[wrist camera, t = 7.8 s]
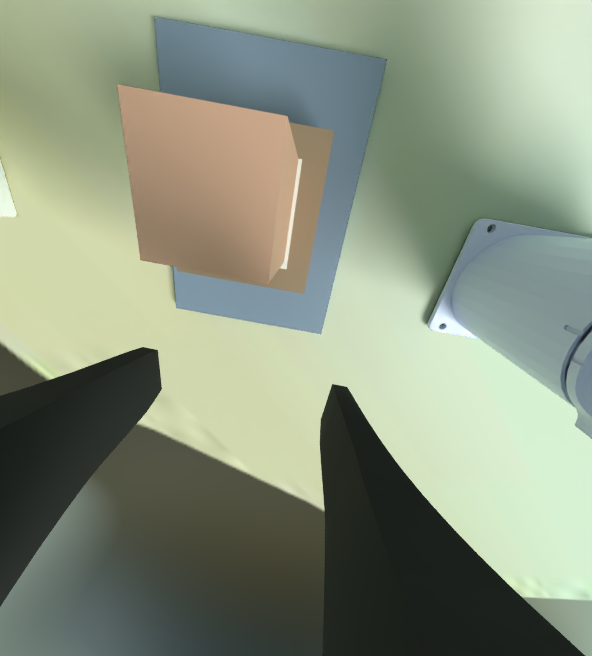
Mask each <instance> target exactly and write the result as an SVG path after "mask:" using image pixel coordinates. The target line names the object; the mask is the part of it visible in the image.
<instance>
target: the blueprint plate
mask: <svg viewBox="0 0 592 656" xmlns="http://www.w3.org/2000/svg"><path fill="white" fill-rule="evenodd" d="M155 30H156V43H157V56H158V70H159V83H160V92H162V93H167V94H172V95H178V96H183V97H188V98H194V99H199V100H204V101H210V102H215V103H220V104H226V105H231V106H236V107H242V108H247V109H252V110H258V111H263V112H268V113H274V114H279V115H284V116H288V120H289V124H290V127H291V131H292V135H293V139H294V143H295V147H296V151H297V154H298V158H299V159H298V166H297V174H296V181H295V188H294V195H293V202H292V209H291V217H290V224H289V231H288V238H287V245H286V252H285V260H284V263H283V264H282V266H281V267H280V268H279V270H278V271H277V273H276V274H275V275H274V277H273V278H272V279H271V281H270V282H269V283H262V282H257V281H251V280H246V279H240V278H235V277H230V276H224V275H219V274H213V273H208V272H202V271H197V270H191V269H186V268H181V267H175V266H173V270H174V283H175V296H176V308H179V309H185V310H190V311H196V312H201V313H207V314H212V315H218V316H223V317H229V318H234V319H240V320H246V321H251V322H257V323H262V324H268V325H273V326H279V327H284V328H290V329H295V330H301V331H307V332H312V333H318V334H321V332H322V328H323V324H324V320H325V316H326V312H327V307H328V303H329V299H330V295H331V291H332V287H333V282H334V278H335V274H336V270H337V266H338V262H339V257H340V253H341V249H342V245H343V241H344V237H345V232H346V228H347V224H348V220H349V216H350V212H351V207H352V203H353V199H354V195H355V191H356V187H357V182H358V178H359V174H360V170H361V166H362V161H363V157H364V153H365V149H366V145H367V141H368V136H369V132H370V128H371V124H372V120H373V116H374V111H375V107H376V103H377V99H378V95H379V91H380V86H381V82H382V78H383V74H384V70H385V66H386V61H387V59H382V58H377V57H371V56H366V55H360V54H355V53H349V52H344V51H339V50H333V49H328V48H322V47H317V46H312V45H306V44H301V43H295V42H290V41H285V40H279V39H274V38H268V37H263V36H257V35H252V34H247V33H241V32H236V31H230V30H225V29H220V28H214V27H209V26H203V25H198V24H192V23H187V22H182V21H176V20H171V19H165V18H160V17H155Z"/></svg>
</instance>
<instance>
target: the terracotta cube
mask: <svg viewBox="0 0 592 656" xmlns="http://www.w3.org/2000/svg"><path fill="white" fill-rule="evenodd" d="M117 87H118V94H119V102H120V109H121V117H122V124H123V132H124V139H125V147H126V154H127V162H128V169H129V177H130V184H131V192H132V199H133V207H134V214H135V222H136V229H137V237H138V245H139V252H140V260H143V261H148V262H153V263H159V264H164V265H170V266H175V267H181V268H186V269H191V270H197V271H202V272H208V273H213V274H219V275H224V276H230V277H235V278H240V279H246V280H251V281H257V282H262V283H269V282H270V281H271V279H272V278H273V277H274V275H275V274H276V273H277V271H278V270H279V268H280V267H281V266H282V264H283V263H284V260H285V252H286V245H287V238H288V231H289V224H290V217H291V209H292V202H293V195H294V188H295V181H296V174H297V166H298V159H299V158H298V154H297V151H296V147H295V143H294V139H293V135H292V131H291V127H290V124H289V120H288V116H284V115H279V114H274V113H268V112H263V111H258V110H252V109H247V108H242V107H236V106H231V105H226V104H220V103H215V102H210V101H204V100H199V99H194V98H188V97H183V96H178V95H172V94H167V93H162V92H156V91H151V90H146V89H140V88H135V87H130V86H125V85H119V84H117Z"/></svg>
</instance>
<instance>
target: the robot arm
mask: <svg viewBox="0 0 592 656" xmlns="http://www.w3.org/2000/svg"><path fill="white" fill-rule="evenodd" d="M490 225H492V229H491V230H490V231H489V232H487V228H488V227H489V226H490ZM442 323H444V325H443V326H442V327H439V326H440V324H442ZM427 325H428V327H429V328H430V329H431V330H433V331H437V332H443V333H448V334H454V335H459V336H465V337H471V338H476V339H480V340H482V341H483V342H484V343H486V344H487V345H489V346H490V347H491V348H493V349H494V350H496V351H497V352H498V353H500V354H501V355H502V356H504V357H505V358H507V359H508V360H509V361H511V362H512V363H514V364H515V365H516V366H518V367H519V368H521V369H522V370H523V371H525V372H526V373H528V374H529V375H530V376H532V377H533V378H534V379H536V380H537V381H539V382H540V383H541V384H543V385H544V386H546V387H547V388H548V389H550V390H551V391H553V392H554V393H555V394H557V395H558V396H560V397H561V398H562V399H564V400H565V401H567V402H568V403H569V404H571V405H572V406H573V407H575V408H576V409H577V412H578V418H577V420H576V423H575V426H576V427H577V428H579V429H580V430H581V431H582V432H584V433H585V434H586V435H588V436H589V437H590V438H591V439H592V238H591V237H586V236H580V235H575V234H569V233H564V232H558V231H553V230H547V229H542V228H536V227H531V226H525V225H520V224H514V223H509V222H503V221H498V220H492V219H479V220H477V221H476V222H475V223H474V225H473V226H472V228H471V231H470V233H469V235H468V237H467V239H466V241H465V244H464V246H463V248H462V250H461V252H460V254H459V257H458V259H457V261H456V263H455V265H454V267H453V269H452V272H451V274H450V276H449V278H448V280H447V282H446V285H445V287H444V289H443V291H442V293H441V295H440V297H439V300H438V302H437V304H436V306H435V308H434V310H433V313H432V315H431V317H430V319H429V321H428V324H427ZM161 389H162V387H161V377H160V368H159V358H158V350H154V349H149V348H144V347H142V348H139V349H135V350H132V351H129V352H126V353H124V354H121V355H118V356H115V357H113V358H110V359H107V360H105V361H102V362H99V363H96V364H94V365H91V366H88V367H85V368H83V369H80V370H77V371H75V372H72V373H69V374H66V375H63V376H60V377H57V378H54V379H51V380H48V381H45V382H42V383H39V384H37V385H34V386H31V387H27V388H24V389H21V390H18V391H15V392H11V393H8V394H5V395H2V396H0V606H1V605H2V603H3V601H4V600H5V598H6V597H7V595H8V594H9V592H10V591H11V589H12V588H13V586H14V585H15V583H16V582H17V580H18V579H19V577H20V576H21V574H22V573H23V571H24V570H25V568H26V567H27V565H28V564H29V562H30V561H31V559H32V558H33V556H34V555H35V553H36V552H37V550H38V549H39V547H40V546H41V545H42V543H43V542H44V540H45V539H46V537H47V536H48V535H49V533H50V532H51V530H52V529H53V528H54V526H55V525H56V523H57V522H58V520H59V519H60V518H61V516H62V515H63V513H64V512H65V511H66V509H67V508H68V506H69V505H70V504H71V502H72V501H73V500H74V498H75V497H76V495H77V494H78V493H79V492H80V490H81V489H82V487H83V486H84V485H85V483H86V482H87V481H88V479H89V478H90V477H91V476H92V475H93V473H94V472H95V471H96V470H97V468H98V467H99V466H100V465H101V464H102V462H103V461H104V460H105V459H106V458H107V457H108V456H109V454H110V453H111V452H112V451H113V450H114V449H115V448H116V446H117V445H118V444H119V443H120V442H121V441H122V439H123V438H124V437H125V436H126V435H127V434H128V433H129V431H130V430H131V429H132V428H133V427H134V426H135V425H136V424H137V422H138V421H139V420H140V419H141V418H142V417H143V415H144V414H145V413H146V412H147V410H148V409H149V408H150V406H151V405H152V403H153V402H154V400H155V399H156V397H157V396H158V394H159V393H160V391H161ZM320 453H321V467H322V481H323V494H324V508H325V582H324V583H325V584H324V624H323V656H585V655H584V654H583V653H581V652H580V651H579V650H578V649H577V648H576V647H575V646H574V645H573V644H572V643H571V642H570V641H568V640H567V639H566V638H565V637H564V636H563V635H562V634H561V633H560V632H559V631H558V630H557V629H555V628H554V627H553V626H552V625H551V624H550V623H549V622H548V621H547V620H546V619H545V618H544V617H543V616H541V615H540V614H539V613H538V612H537V611H536V610H535V609H534V608H533V607H532V606H531V605H529V604H528V603H527V602H526V601H525V600H524V599H523V598H522V597H521V596H520V595H519V594H518V593H517V592H516V591H515V590H513V589H512V588H511V587H510V586H509V585H508V584H507V583H506V582H505V581H504V580H503V579H502V578H501V577H500V576H499V575H498V574H497V573H496V572H495V571H494V570H493V569H492V568H491V567H490V566H489V565H488V564H487V563H486V562H485V561H484V560H483V559H482V558H481V557H480V556H479V555H478V554H477V553H476V552H475V551H474V550H473V549H472V548H471V547H470V546H469V545H468V544H467V543H466V542H465V541H464V540H463V539H462V537H461V536H460V535H459V534H458V533H457V532H456V531H455V530H454V529H453V528H452V527H451V526H450V525H449V524H448V522H447V521H446V520H445V519H444V518H443V517H442V516H441V515H440V514H439V513H438V512H437V510H436V509H435V508H434V507H433V506H432V505H431V504H430V503H429V501H428V500H427V499H426V498H425V497H424V496H423V495H422V493H421V492H420V491H419V490H418V489H417V487H416V486H415V485H414V484H413V483H412V481H411V480H410V479H409V478H408V476H407V475H406V474H405V473H404V472H403V470H402V469H401V468H400V466H399V465H398V464H397V463H396V461H395V460H394V459H393V457H392V456H391V454H390V453H389V452H388V450H387V449H386V448H385V446H384V445H383V443H382V442H381V440H380V439H379V437H378V436H377V434H376V433H375V431H374V430H373V428H372V427H371V425H370V424H369V422H368V421H367V419H366V417H365V416H364V414H363V413H362V411H361V409H360V408H359V406H358V404H357V403H356V401H355V399H354V398H353V396H352V394H351V393H350V391H349V389H348V388H347V387H344V386H339V385H334V384H332V387H331V390H330V393H329V396H328V399H327V403H326V406H325V409H324V412H323V415H322V418H321V429H320Z"/></svg>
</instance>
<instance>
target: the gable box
mask: <svg viewBox="0 0 592 656" xmlns="http://www.w3.org/2000/svg"><path fill="white" fill-rule="evenodd" d="M16 215H17V212H16V209H15V206H14V202H13V199H12V196H11V192H10V189H9V186H8V182H7V179H6V176H5V172H4V169H3V166H2V162H1V159H0V217H15V216H16Z"/></svg>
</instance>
